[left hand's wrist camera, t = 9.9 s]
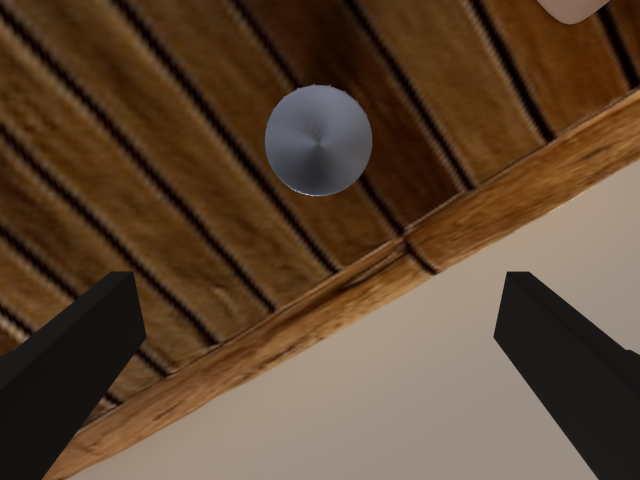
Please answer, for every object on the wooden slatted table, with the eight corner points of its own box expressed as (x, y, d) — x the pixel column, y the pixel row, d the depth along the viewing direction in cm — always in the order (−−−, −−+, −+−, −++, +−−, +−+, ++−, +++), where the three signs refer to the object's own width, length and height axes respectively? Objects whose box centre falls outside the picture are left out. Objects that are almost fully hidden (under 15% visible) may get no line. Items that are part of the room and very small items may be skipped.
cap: (328, 63, 16) (328, 57, 14) (385, 148, 17) (395, 154, 15) (250, 128, 17) (240, 132, 15) (310, 204, 18) (309, 217, 16)
